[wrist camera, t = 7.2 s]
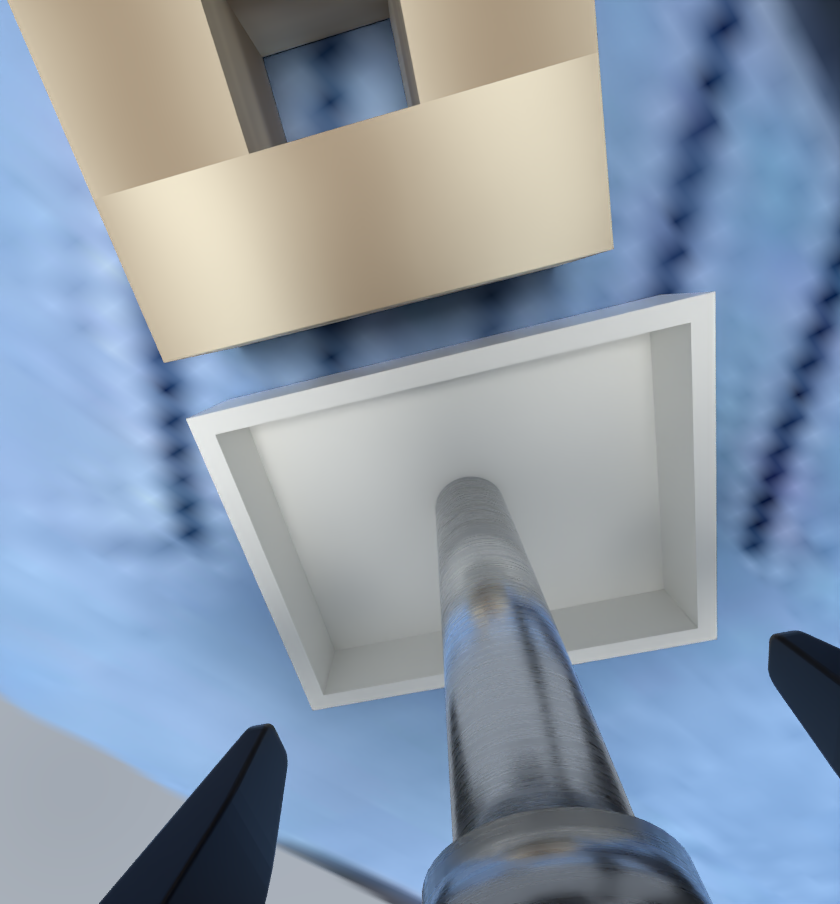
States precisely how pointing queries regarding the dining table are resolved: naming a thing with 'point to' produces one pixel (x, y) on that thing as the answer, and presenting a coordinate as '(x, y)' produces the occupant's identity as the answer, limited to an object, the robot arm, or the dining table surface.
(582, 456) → the tray
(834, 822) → the dining table surface
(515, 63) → the block
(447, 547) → the pin
